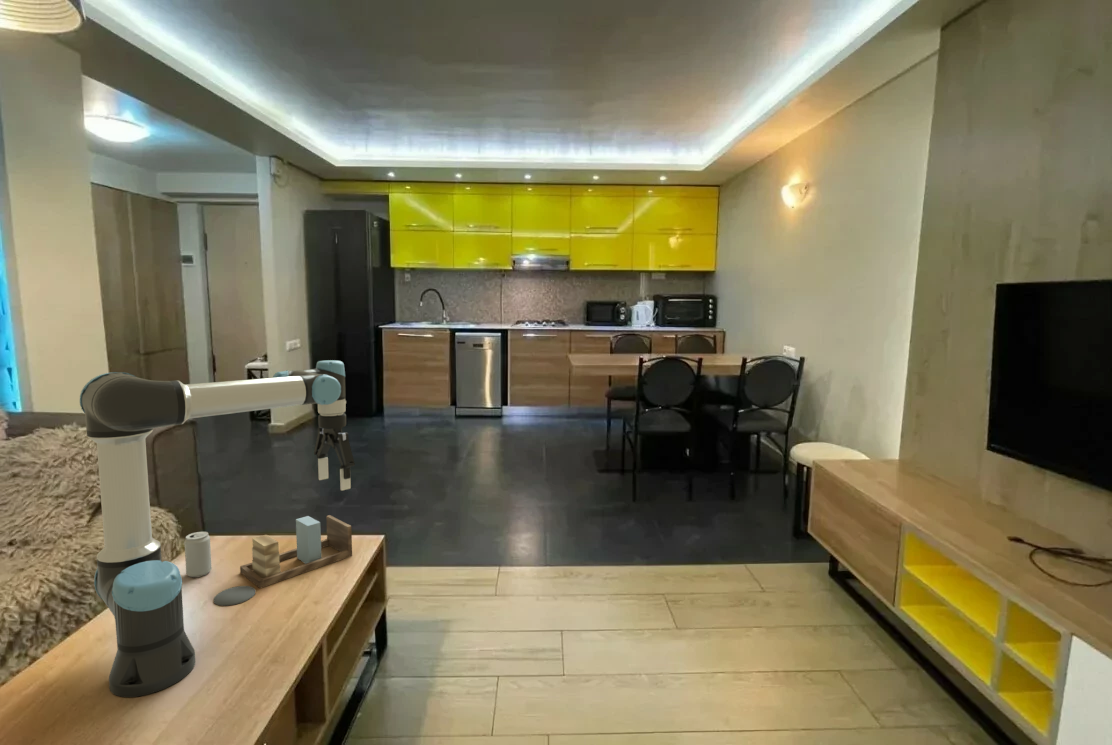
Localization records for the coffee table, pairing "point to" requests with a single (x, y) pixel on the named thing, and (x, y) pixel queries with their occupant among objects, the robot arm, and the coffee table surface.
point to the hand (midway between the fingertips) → (334, 484)
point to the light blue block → (308, 539)
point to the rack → (336, 538)
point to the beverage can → (197, 554)
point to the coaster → (234, 595)
